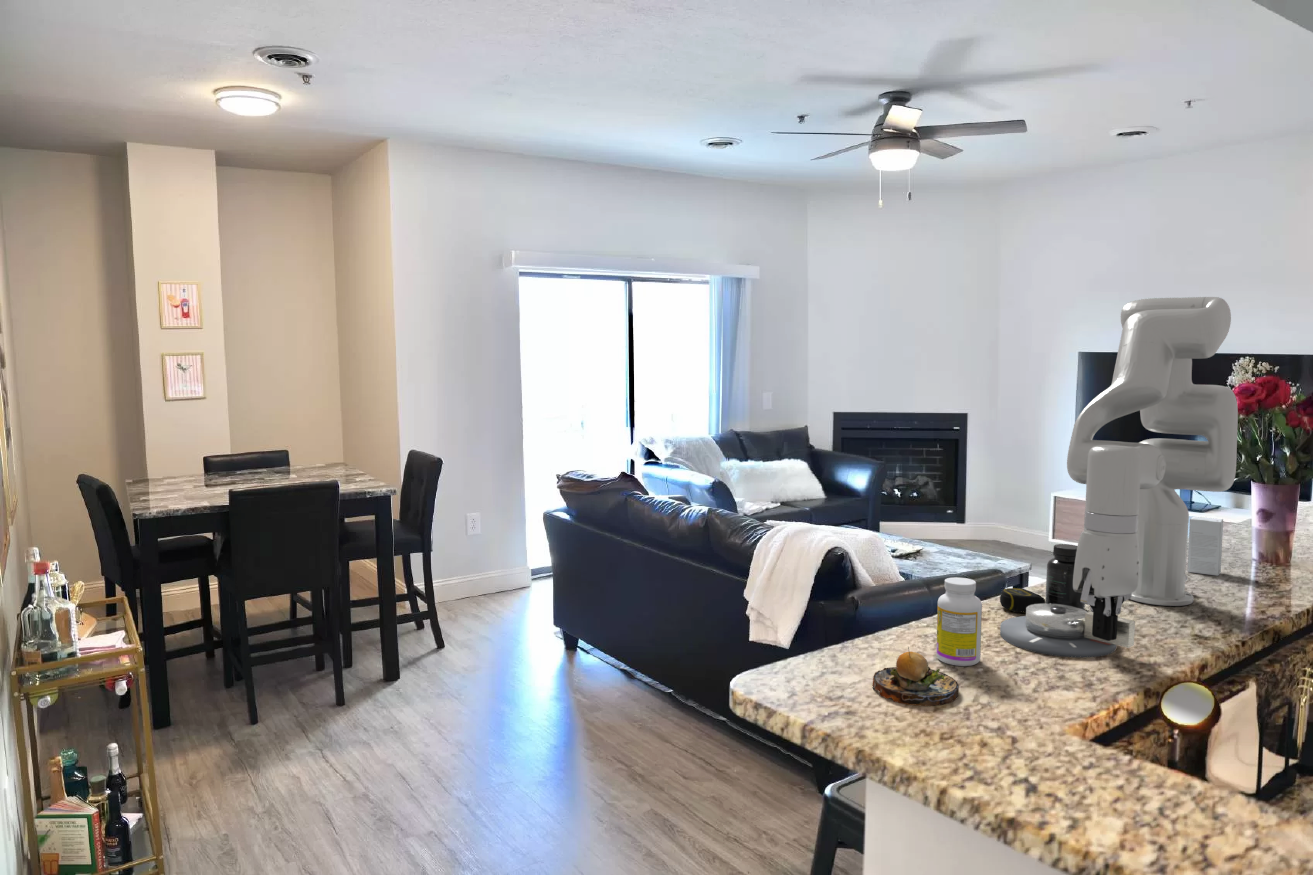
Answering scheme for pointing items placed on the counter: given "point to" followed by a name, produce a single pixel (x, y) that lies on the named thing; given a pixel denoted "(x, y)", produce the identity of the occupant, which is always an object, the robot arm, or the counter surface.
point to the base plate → (1051, 641)
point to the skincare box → (1205, 545)
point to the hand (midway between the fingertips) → (1104, 637)
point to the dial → (1073, 623)
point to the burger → (915, 682)
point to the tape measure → (1019, 599)
